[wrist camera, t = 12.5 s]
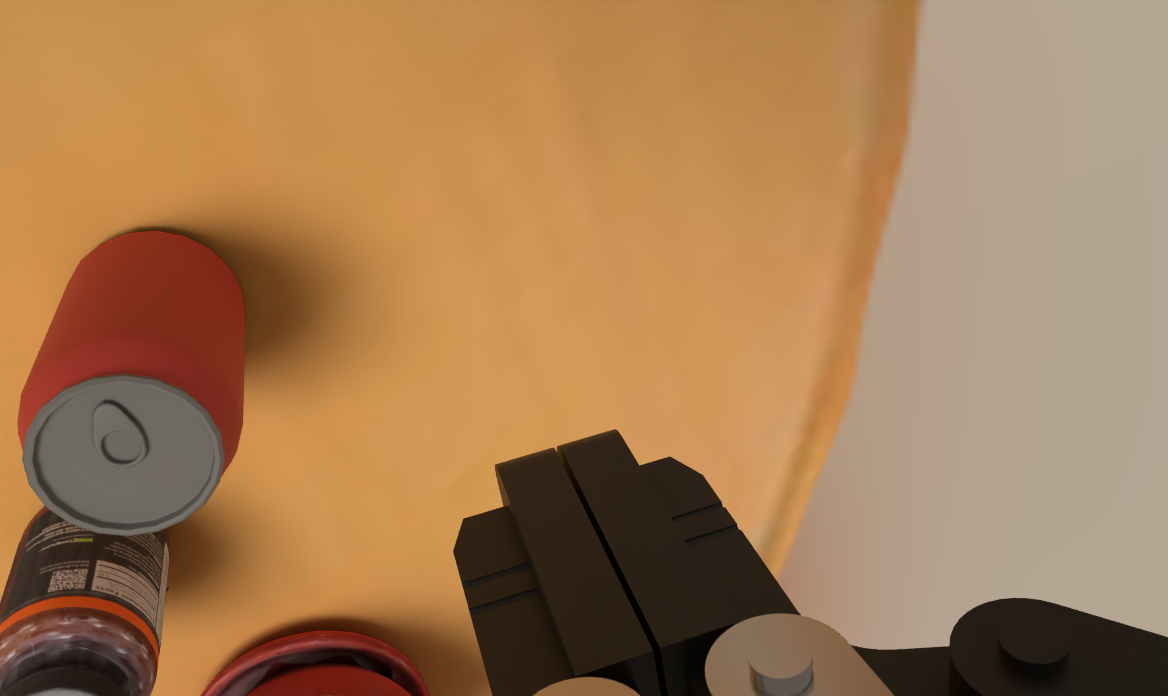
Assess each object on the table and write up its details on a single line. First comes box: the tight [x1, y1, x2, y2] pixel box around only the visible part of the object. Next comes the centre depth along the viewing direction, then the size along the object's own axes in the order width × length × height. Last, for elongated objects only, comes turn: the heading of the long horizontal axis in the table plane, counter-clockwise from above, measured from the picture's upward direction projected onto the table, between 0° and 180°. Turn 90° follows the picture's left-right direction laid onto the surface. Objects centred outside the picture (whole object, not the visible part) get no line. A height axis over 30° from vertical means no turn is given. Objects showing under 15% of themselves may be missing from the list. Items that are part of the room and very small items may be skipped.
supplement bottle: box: [0, 507, 169, 696], centre depth 40 cm, size 6×6×11 cm
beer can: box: [18, 231, 246, 536], centre depth 36 cm, size 7×7×12 cm
